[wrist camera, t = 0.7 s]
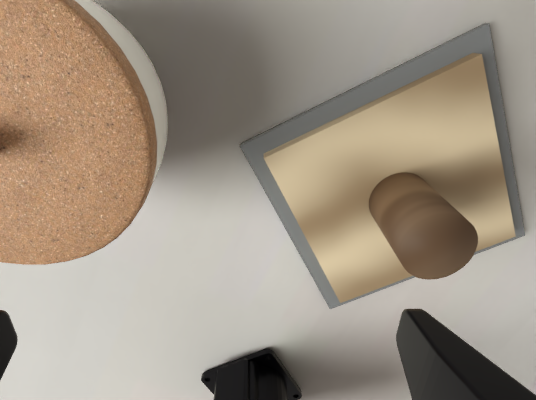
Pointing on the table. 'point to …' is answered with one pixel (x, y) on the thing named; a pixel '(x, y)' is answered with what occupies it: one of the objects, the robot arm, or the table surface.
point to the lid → (400, 182)
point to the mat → (364, 94)
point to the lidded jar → (73, 129)
